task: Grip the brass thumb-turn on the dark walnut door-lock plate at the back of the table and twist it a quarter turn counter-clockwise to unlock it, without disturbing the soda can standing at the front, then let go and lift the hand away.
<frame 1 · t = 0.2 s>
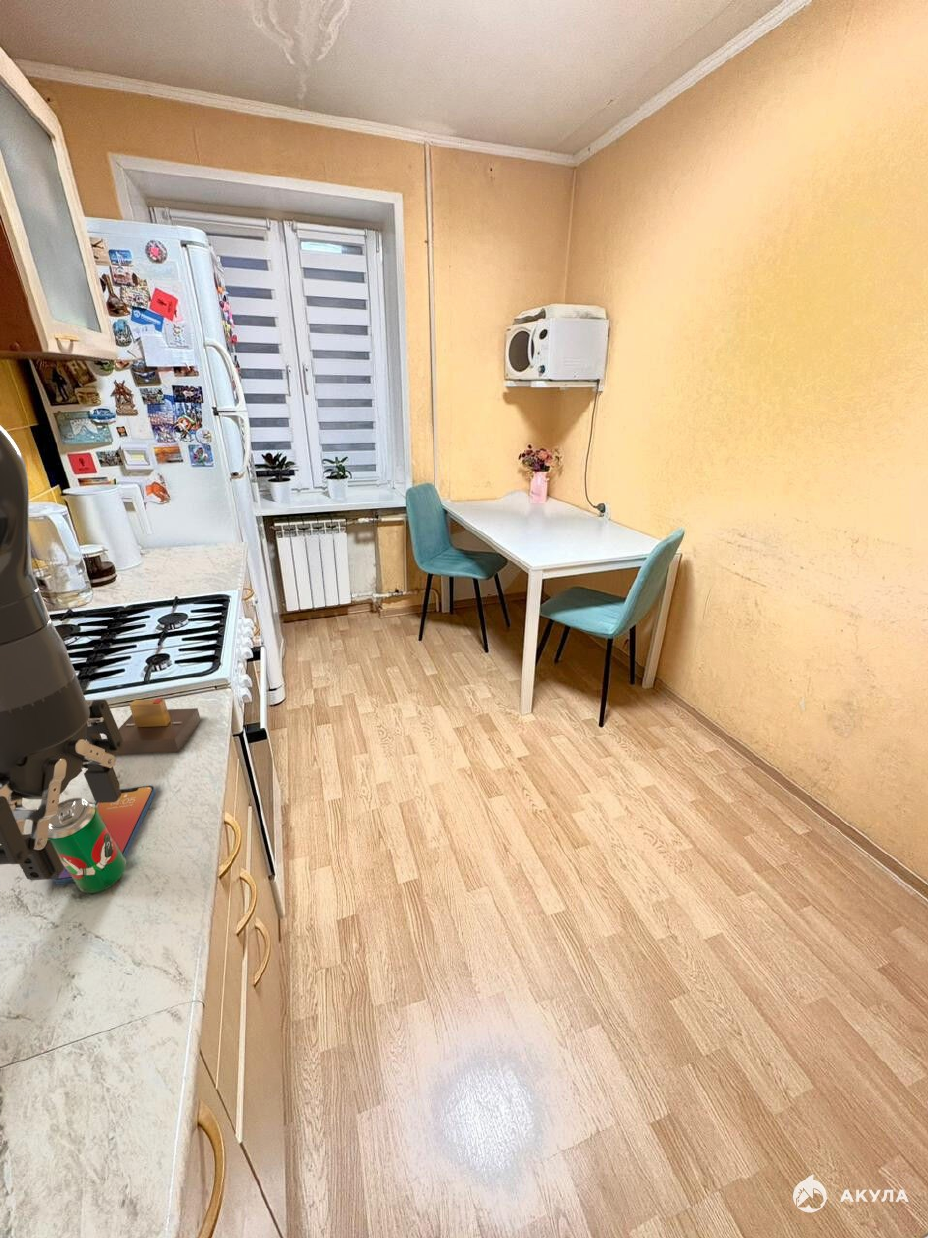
hand: (81, 835, 46), 18 cm above the countertop, tool pointing down, fingers open, 8 cm apart
smartphone: (111, 834, 68), on the countertop, touching soda can
soda can: (104, 876, 62), on the countertop, touching smartphone
lock knob: (150, 712, 85), point 5 cm above the countertop, hinge at 0.0°
lock plate: (158, 738, 87), on the countertop
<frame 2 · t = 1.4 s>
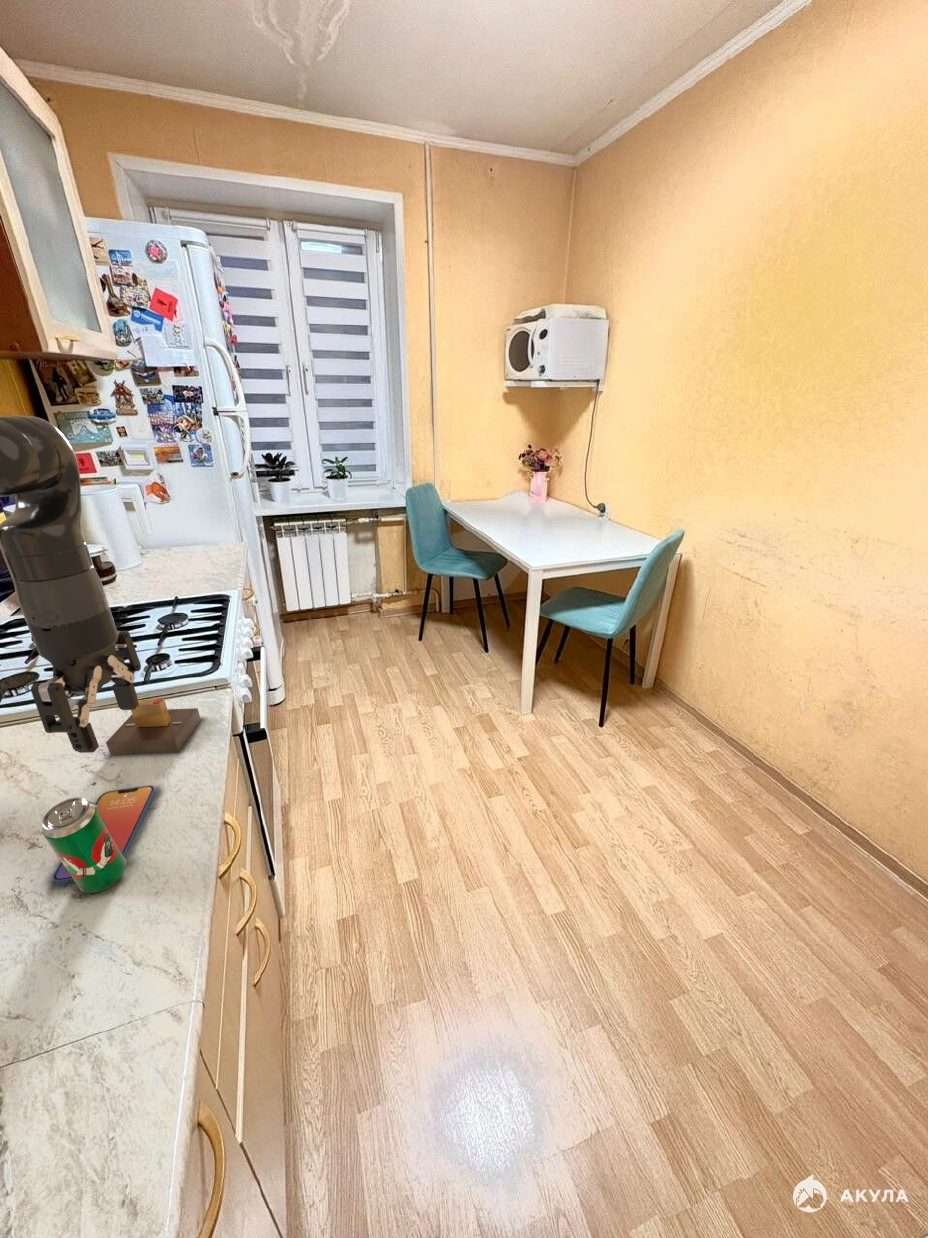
hand: (110, 728, 62), 17 cm above the countertop, tool pointing down, fingers open, 8 cm apart
nothing on the countertop moved.
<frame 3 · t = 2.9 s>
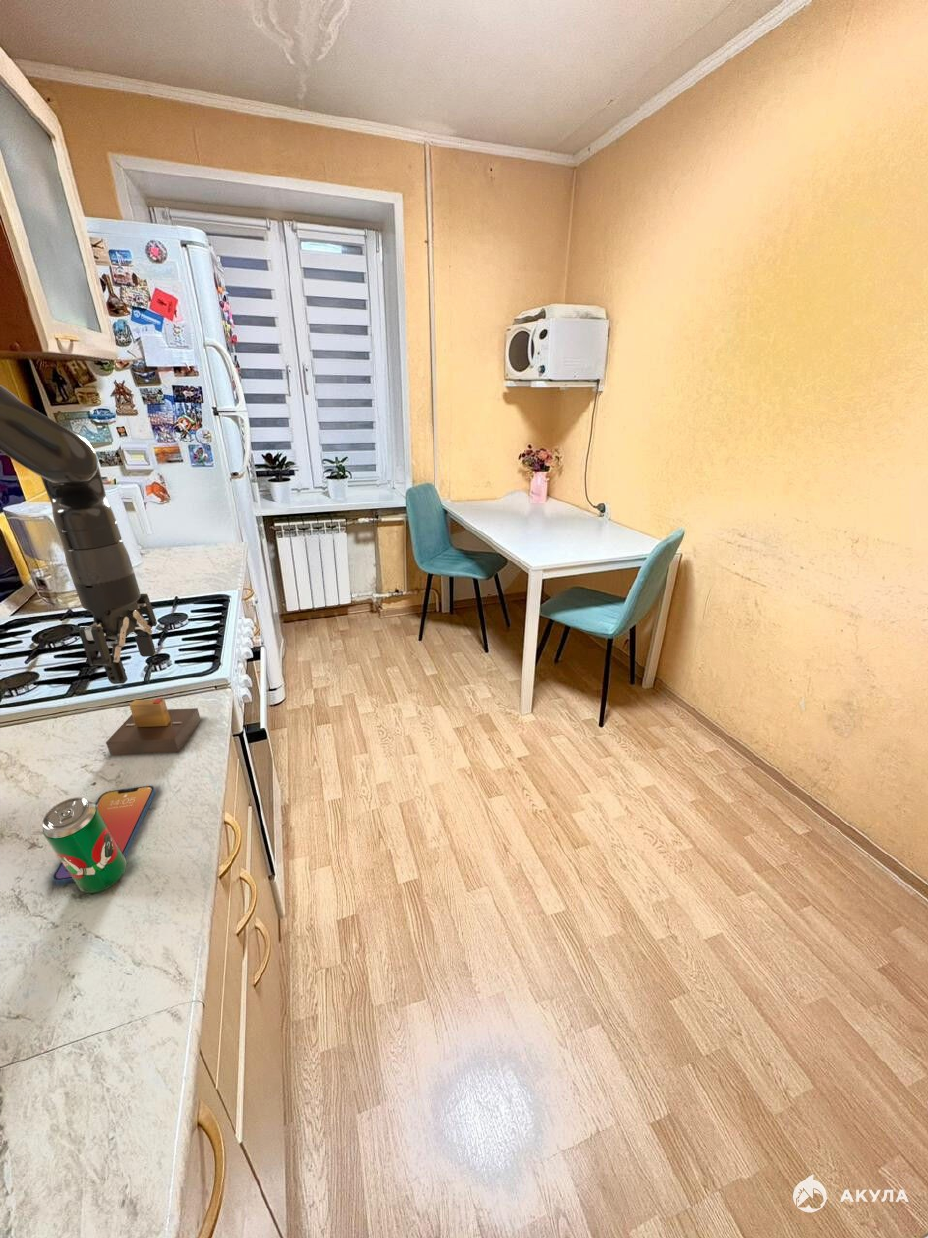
hand: (134, 668, 80), 15 cm above the countertop, tool pointing down, fingers open, 8 cm apart
nothing on the countertop moved.
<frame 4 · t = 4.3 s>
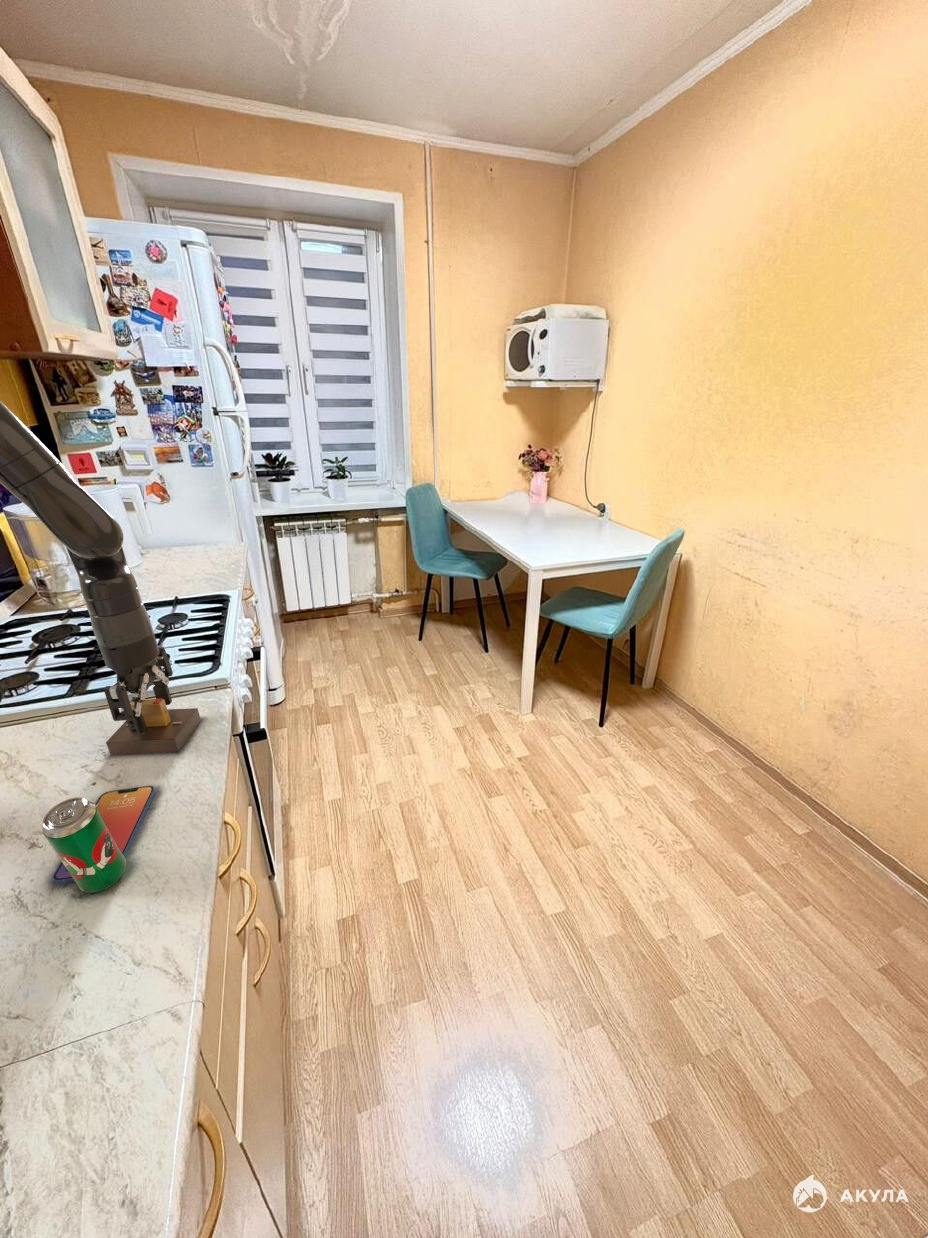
hand: (153, 718, 85), 4 cm above the countertop, tool pointing down, fingers open, 8 cm apart
nothing on the countertop moved.
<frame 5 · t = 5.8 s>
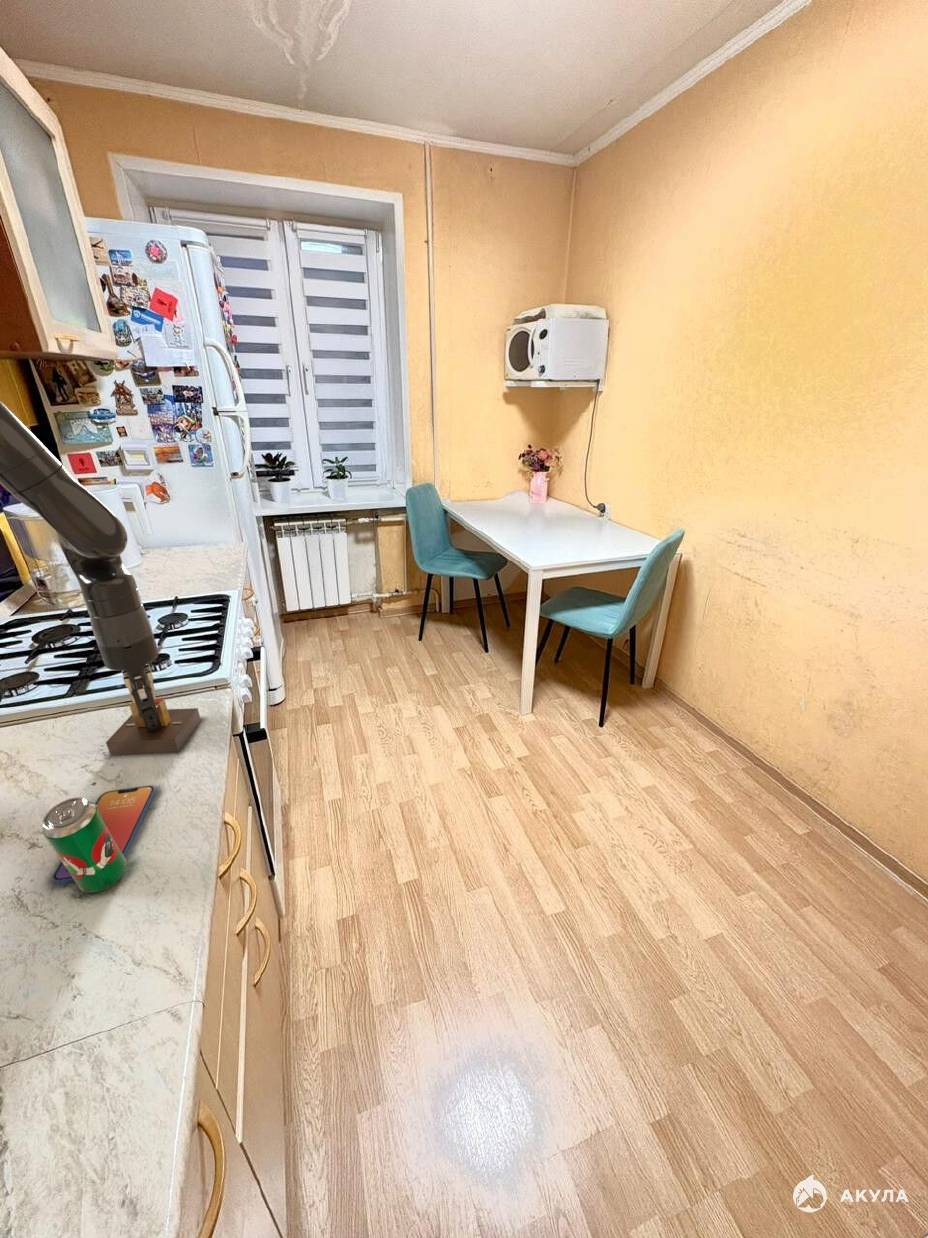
hand: (153, 722, 86), 3 cm above the countertop, tool pointing down, fingers open, 4 cm apart
nothing on the countertop moved.
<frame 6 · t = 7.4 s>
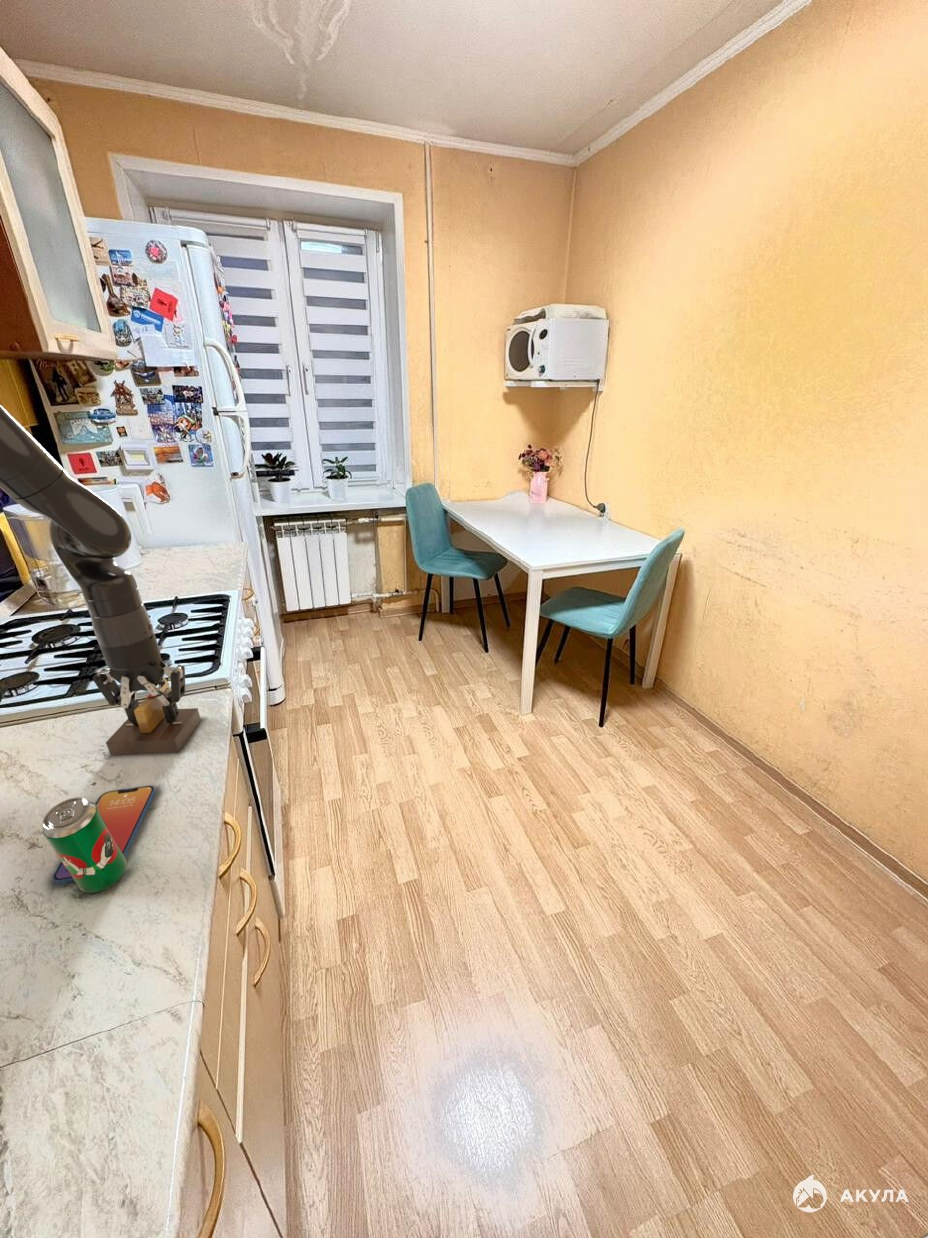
hand: (155, 721, 86), 3 cm above the countertop, tool pointing down, fingers closed on lock plate, 5 cm apart
lock knob: (150, 712, 85), point 5 cm above the countertop, hinge at 87.7°
everything else where it was.
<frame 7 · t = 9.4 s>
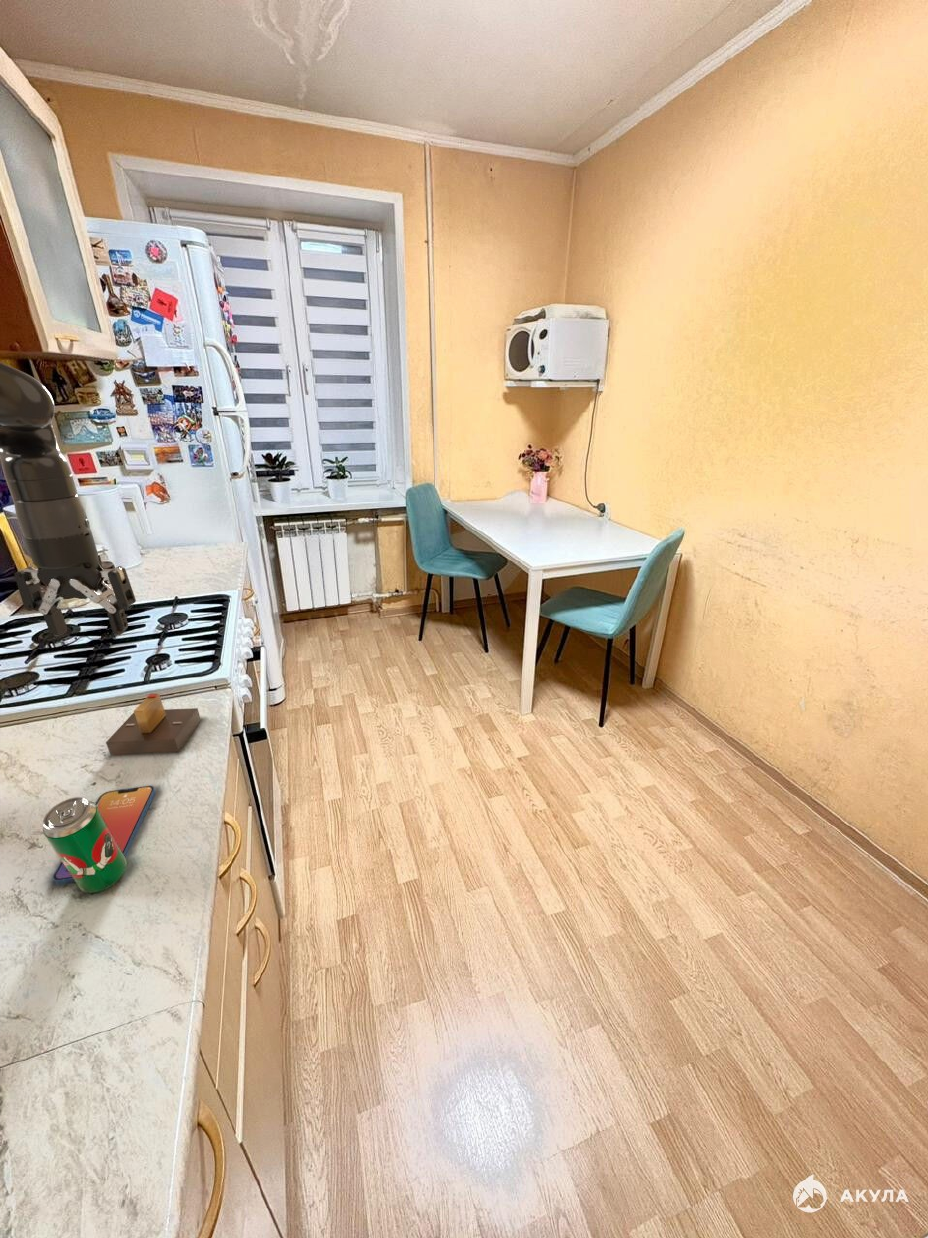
hand: (91, 633, 76), 22 cm above the countertop, tool pointing down, fingers open, 8 cm apart
soda can: (105, 876, 62), on the countertop, touching smartphone
everything else where it was.
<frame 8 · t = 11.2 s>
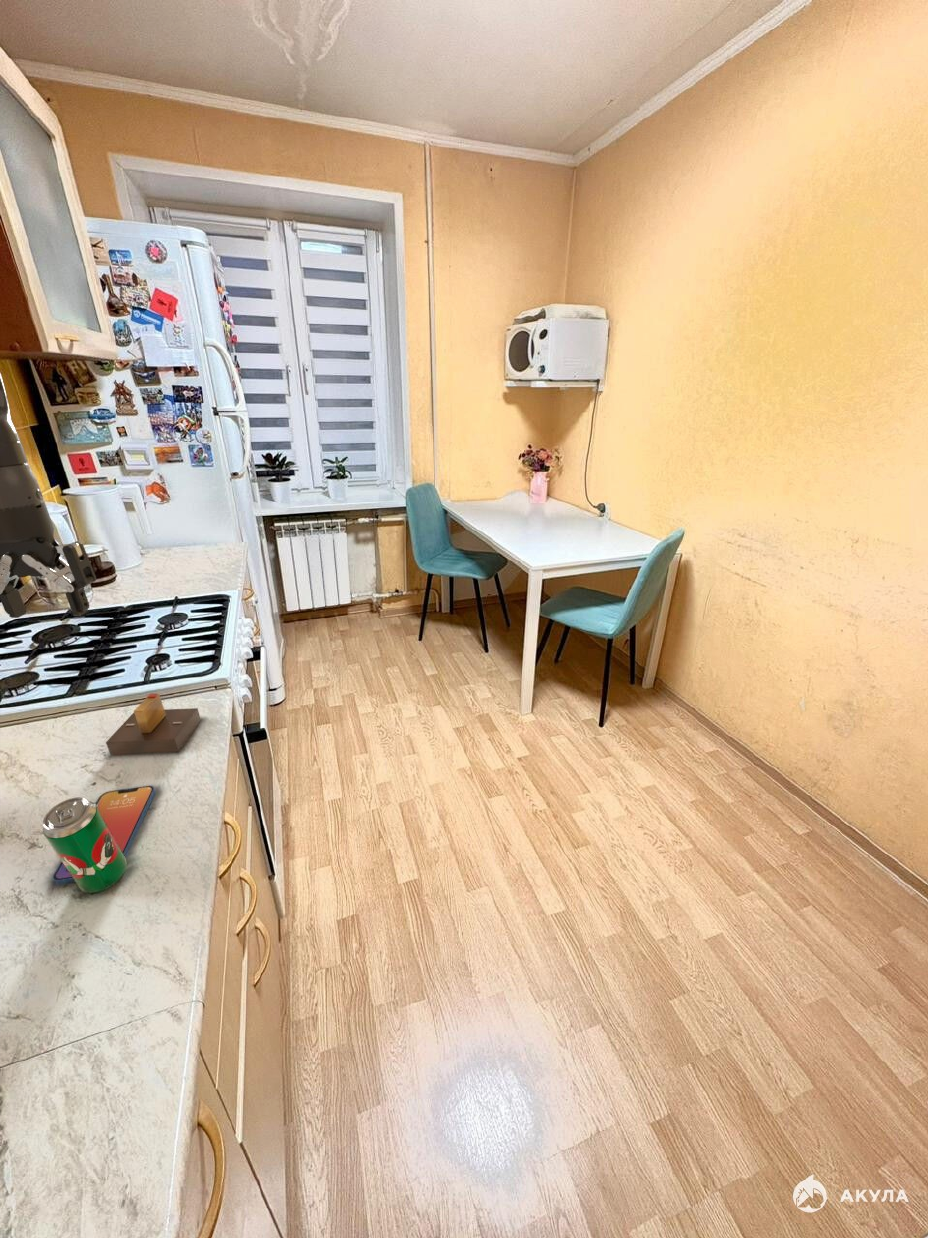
hand: (50, 614, 71), 26 cm above the countertop, tool pointing down, fingers open, 8 cm apart
smartphone: (110, 834, 68), on the countertop
soda can: (105, 876, 62), on the countertop
everything else where it was.
at the end: lock knob at +88° (first picture: +0°); soda can moved 0.1 cm from its start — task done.
